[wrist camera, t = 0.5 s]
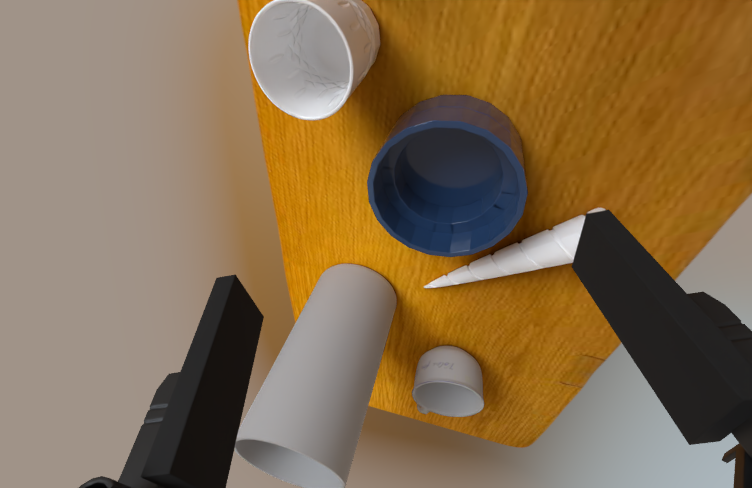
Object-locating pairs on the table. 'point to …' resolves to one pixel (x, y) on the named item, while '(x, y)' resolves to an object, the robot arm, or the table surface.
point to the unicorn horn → (522, 255)
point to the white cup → (312, 53)
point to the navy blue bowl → (449, 177)
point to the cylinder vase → (321, 382)
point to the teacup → (448, 383)
